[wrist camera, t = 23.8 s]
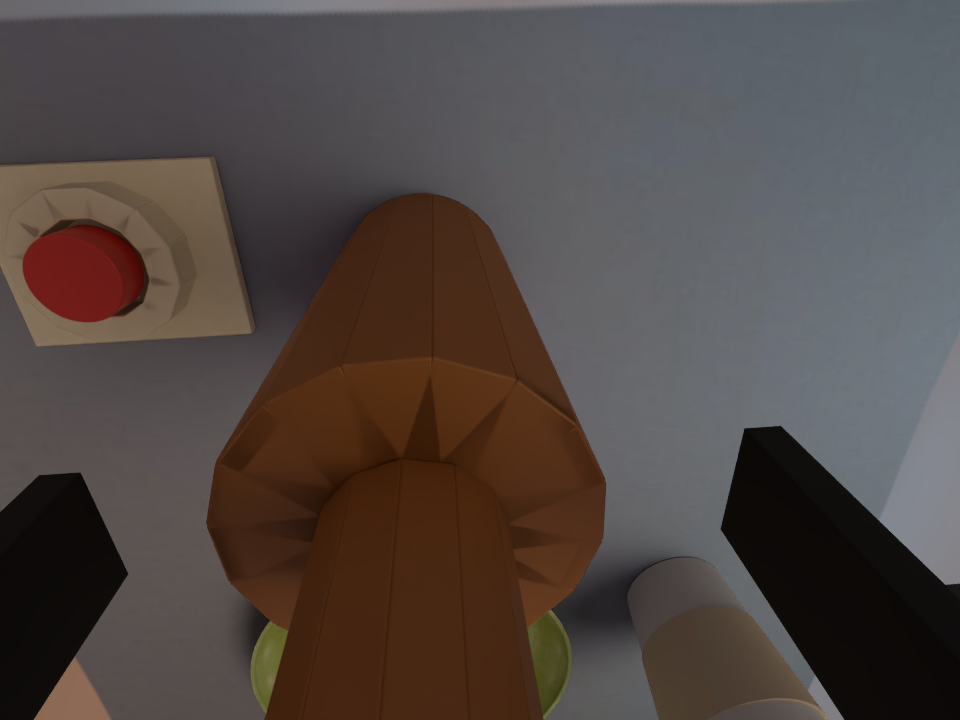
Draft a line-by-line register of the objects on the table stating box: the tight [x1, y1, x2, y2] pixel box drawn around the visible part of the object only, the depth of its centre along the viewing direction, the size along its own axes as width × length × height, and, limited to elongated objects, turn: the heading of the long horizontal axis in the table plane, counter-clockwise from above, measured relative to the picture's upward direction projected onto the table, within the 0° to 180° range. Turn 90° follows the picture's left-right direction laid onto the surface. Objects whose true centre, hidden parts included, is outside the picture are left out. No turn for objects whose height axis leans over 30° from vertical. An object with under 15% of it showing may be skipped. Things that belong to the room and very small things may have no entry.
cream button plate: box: [0, 156, 256, 346], centre depth 23 cm, size 10×8×2 cm
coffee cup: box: [627, 557, 828, 720], centre depth 30 cm, size 9×9×15 cm
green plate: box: [251, 610, 572, 719], centre depth 36 cm, size 21×21×3 cm
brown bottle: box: [206, 194, 606, 720], centre depth 15 cm, size 8×8×23 cm
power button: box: [22, 225, 144, 322], centre depth 21 cm, size 4×4×2 cm
